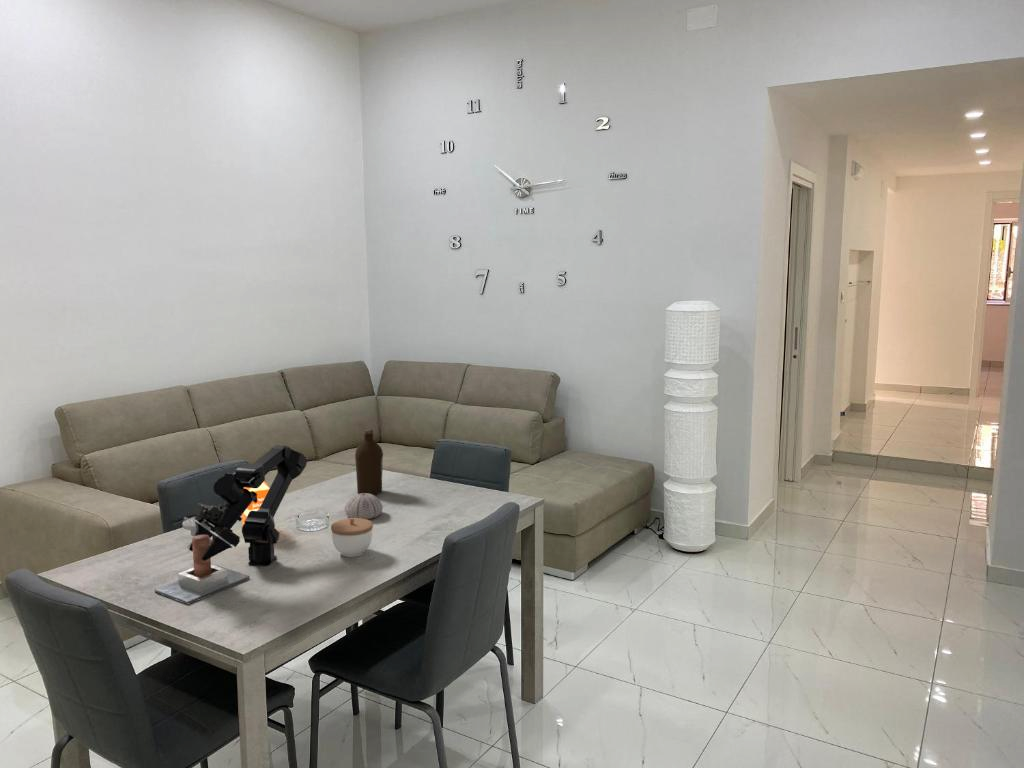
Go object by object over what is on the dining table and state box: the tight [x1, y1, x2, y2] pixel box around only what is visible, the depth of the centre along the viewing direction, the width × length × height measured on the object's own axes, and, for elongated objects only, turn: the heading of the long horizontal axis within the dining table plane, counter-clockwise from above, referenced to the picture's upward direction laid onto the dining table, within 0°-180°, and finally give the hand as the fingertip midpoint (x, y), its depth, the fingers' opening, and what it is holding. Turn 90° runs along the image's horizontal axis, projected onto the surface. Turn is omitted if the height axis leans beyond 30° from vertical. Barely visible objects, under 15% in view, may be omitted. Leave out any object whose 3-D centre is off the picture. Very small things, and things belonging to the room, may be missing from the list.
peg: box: [191, 535, 212, 578], centre depth 212 cm, size 4×4×13 cm
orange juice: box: [241, 481, 270, 527], centre depth 256 cm, size 8×9×20 cm
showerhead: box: [182, 516, 198, 537], centre depth 246 cm, size 9×7×10 cm
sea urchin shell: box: [344, 493, 383, 520], centre depth 272 cm, size 13×14×8 cm
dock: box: [154, 564, 251, 605], centre depth 212 cm, size 20×14×4 cm
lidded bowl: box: [330, 517, 374, 558], centre depth 237 cm, size 13×13×11 cm
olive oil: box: [354, 428, 384, 496], centre depth 297 cm, size 11×11×25 cm
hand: (196, 555), depth 210 cm, fingers open, 9 cm apart
